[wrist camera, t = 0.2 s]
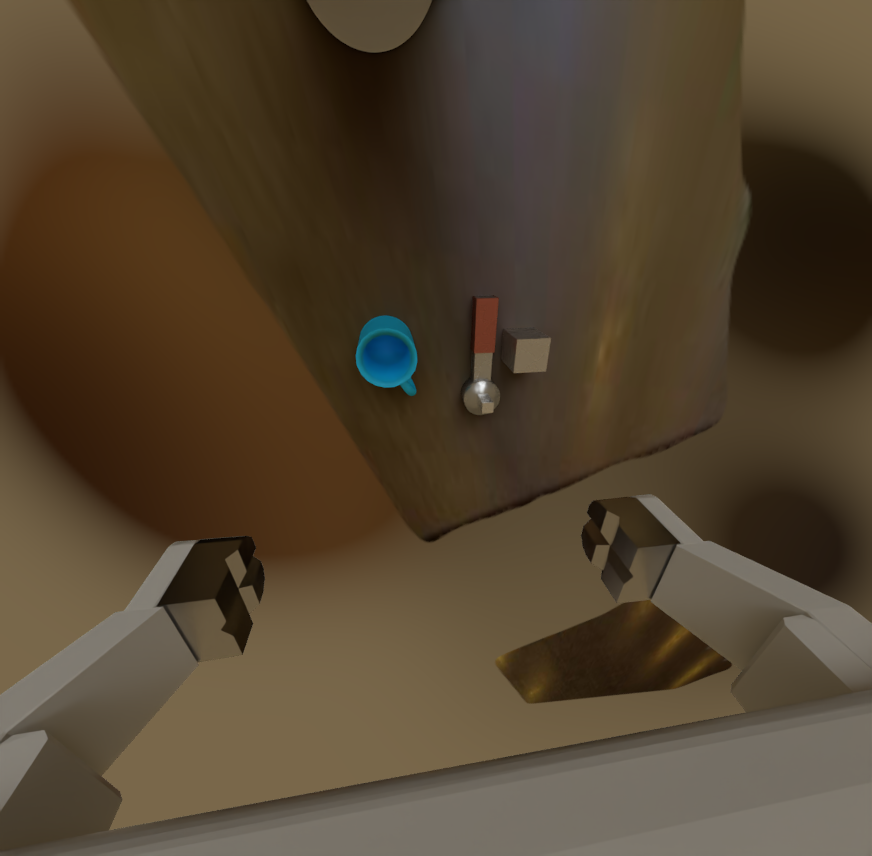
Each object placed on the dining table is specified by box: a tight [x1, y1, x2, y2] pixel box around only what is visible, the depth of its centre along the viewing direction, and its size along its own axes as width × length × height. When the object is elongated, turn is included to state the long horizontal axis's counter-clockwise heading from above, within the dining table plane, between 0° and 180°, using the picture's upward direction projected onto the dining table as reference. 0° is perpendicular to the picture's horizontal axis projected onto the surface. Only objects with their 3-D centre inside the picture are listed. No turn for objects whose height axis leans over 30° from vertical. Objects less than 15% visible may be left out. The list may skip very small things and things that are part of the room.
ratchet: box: [461, 295, 500, 415], centre depth 54 cm, size 18×6×6 cm, turn 1°
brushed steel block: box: [501, 328, 551, 373], centre depth 54 cm, size 5×5×6 cm
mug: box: [356, 316, 417, 396], centre depth 51 cm, size 12×8×8 cm
